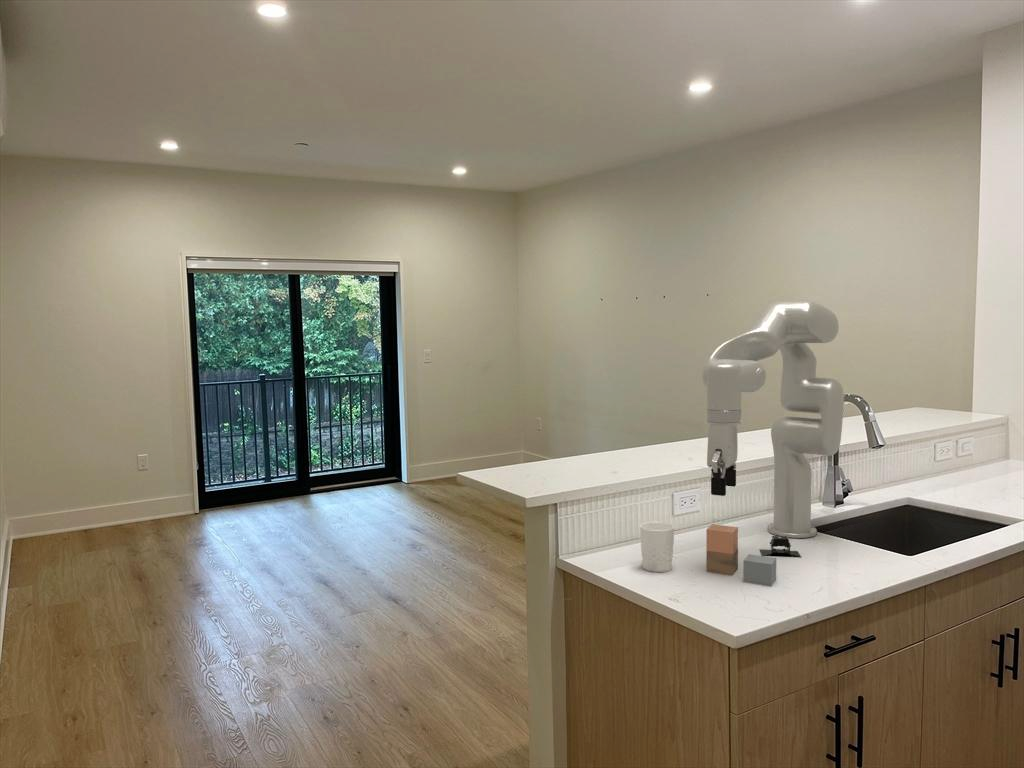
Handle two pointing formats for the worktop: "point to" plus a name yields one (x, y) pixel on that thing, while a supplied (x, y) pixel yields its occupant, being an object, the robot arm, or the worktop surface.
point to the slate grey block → (759, 570)
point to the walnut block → (722, 562)
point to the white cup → (657, 546)
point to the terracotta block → (722, 539)
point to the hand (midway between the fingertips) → (723, 490)
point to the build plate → (780, 552)
